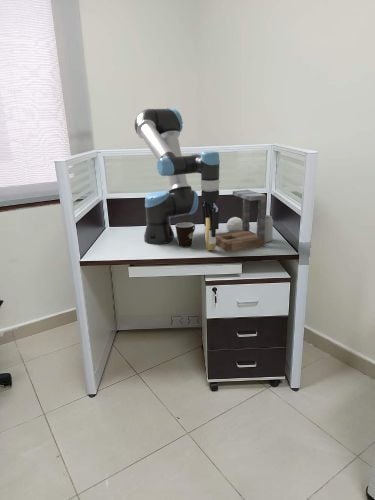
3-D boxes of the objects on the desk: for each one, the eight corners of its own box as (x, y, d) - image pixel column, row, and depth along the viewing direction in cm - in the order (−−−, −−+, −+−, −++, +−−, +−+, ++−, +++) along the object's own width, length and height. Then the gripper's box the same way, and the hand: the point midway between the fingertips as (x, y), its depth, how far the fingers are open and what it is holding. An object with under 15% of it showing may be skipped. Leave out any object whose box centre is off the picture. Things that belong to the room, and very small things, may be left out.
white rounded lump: (226, 233, 173) (250, 235, 174) (228, 215, 173) (252, 217, 173) (224, 234, 182) (246, 236, 182) (225, 216, 182) (248, 218, 182)
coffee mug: (181, 249, 159) (180, 228, 156) (173, 244, 167) (172, 224, 163) (203, 244, 164) (202, 224, 161) (194, 240, 172) (193, 220, 168)
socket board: (211, 242, 167) (211, 193, 159) (246, 236, 174) (247, 189, 166) (227, 252, 153) (227, 199, 145) (264, 246, 160) (266, 195, 152)
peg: (204, 247, 157) (204, 217, 152) (212, 246, 158) (212, 216, 153) (208, 250, 154) (208, 219, 149) (216, 249, 155) (216, 218, 150)
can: (272, 243, 163) (273, 218, 159) (256, 242, 165) (256, 218, 161) (271, 238, 170) (273, 214, 166) (256, 237, 171) (257, 214, 167)
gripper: (227, 192, 140) (226, 246, 149) (209, 185, 155) (210, 235, 164) (210, 194, 138) (210, 249, 146) (194, 187, 153) (195, 237, 161)
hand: (210, 241), depth 155 cm, fingers closed on peg, 4 cm apart
